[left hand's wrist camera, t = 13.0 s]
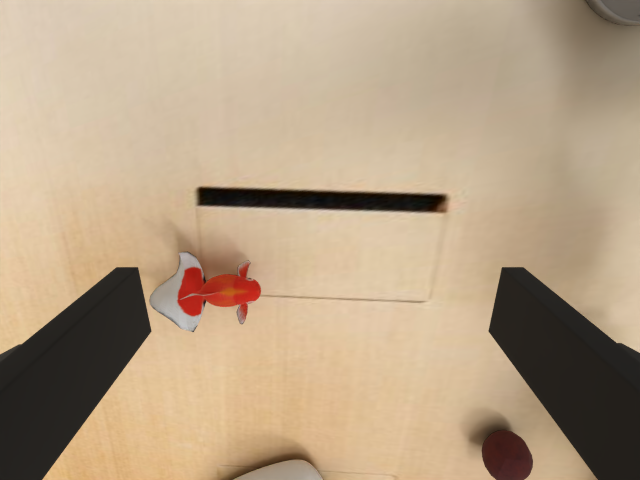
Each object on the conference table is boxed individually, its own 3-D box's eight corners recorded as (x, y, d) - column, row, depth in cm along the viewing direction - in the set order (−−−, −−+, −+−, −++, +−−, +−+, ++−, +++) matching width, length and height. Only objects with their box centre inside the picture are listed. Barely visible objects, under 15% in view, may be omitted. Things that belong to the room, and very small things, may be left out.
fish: (264, 346, 47) (217, 367, 38) (177, 310, 53) (118, 320, 44) (283, 270, 47) (241, 272, 38) (194, 241, 53) (137, 237, 43)
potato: (470, 451, 61) (488, 493, 55) (481, 418, 58) (501, 458, 52) (511, 454, 61) (534, 496, 55) (524, 421, 59) (550, 461, 52)
